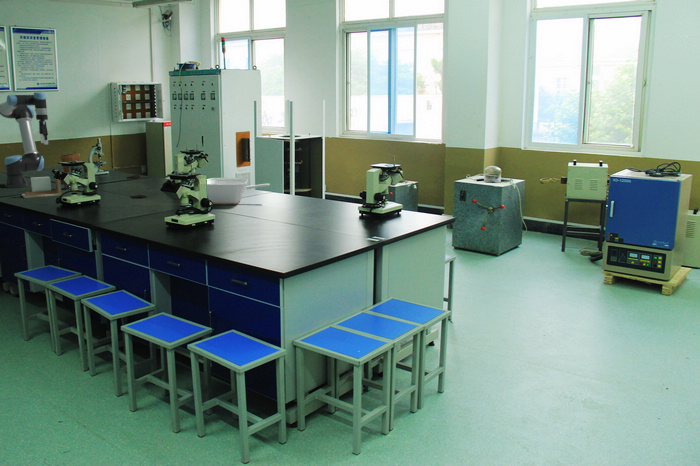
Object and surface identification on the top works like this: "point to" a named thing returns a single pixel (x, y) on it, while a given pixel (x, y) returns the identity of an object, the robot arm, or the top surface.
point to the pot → (227, 189)
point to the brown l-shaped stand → (45, 193)
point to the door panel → (40, 184)
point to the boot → (66, 159)
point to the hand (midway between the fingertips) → (44, 143)
